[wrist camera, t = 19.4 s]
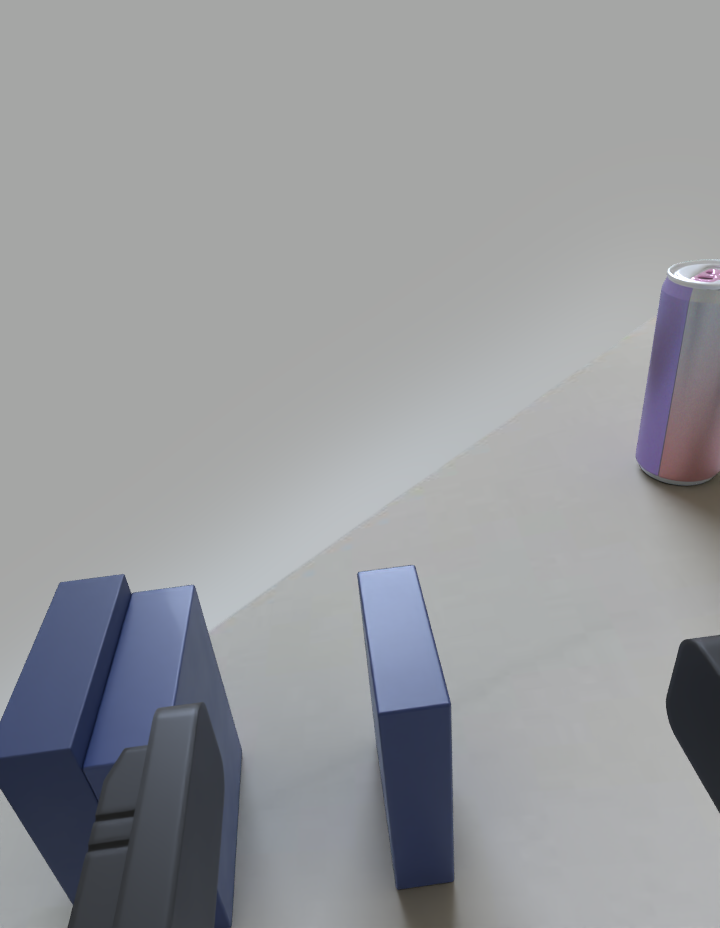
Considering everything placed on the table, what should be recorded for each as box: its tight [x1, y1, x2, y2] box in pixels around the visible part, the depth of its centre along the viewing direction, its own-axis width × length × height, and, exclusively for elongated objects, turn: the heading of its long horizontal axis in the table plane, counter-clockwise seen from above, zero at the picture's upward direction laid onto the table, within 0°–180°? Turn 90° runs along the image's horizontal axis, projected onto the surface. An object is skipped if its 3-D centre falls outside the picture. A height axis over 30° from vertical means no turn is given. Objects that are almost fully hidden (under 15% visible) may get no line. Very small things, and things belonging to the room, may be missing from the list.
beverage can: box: [636, 260, 720, 486], centre depth 47 cm, size 6×6×15 cm
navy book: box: [357, 565, 454, 890], centre depth 27 cm, size 7×2×11 cm, turn 6°
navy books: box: [0, 574, 242, 928], centre depth 26 cm, size 8×5×12 cm, turn 6°
